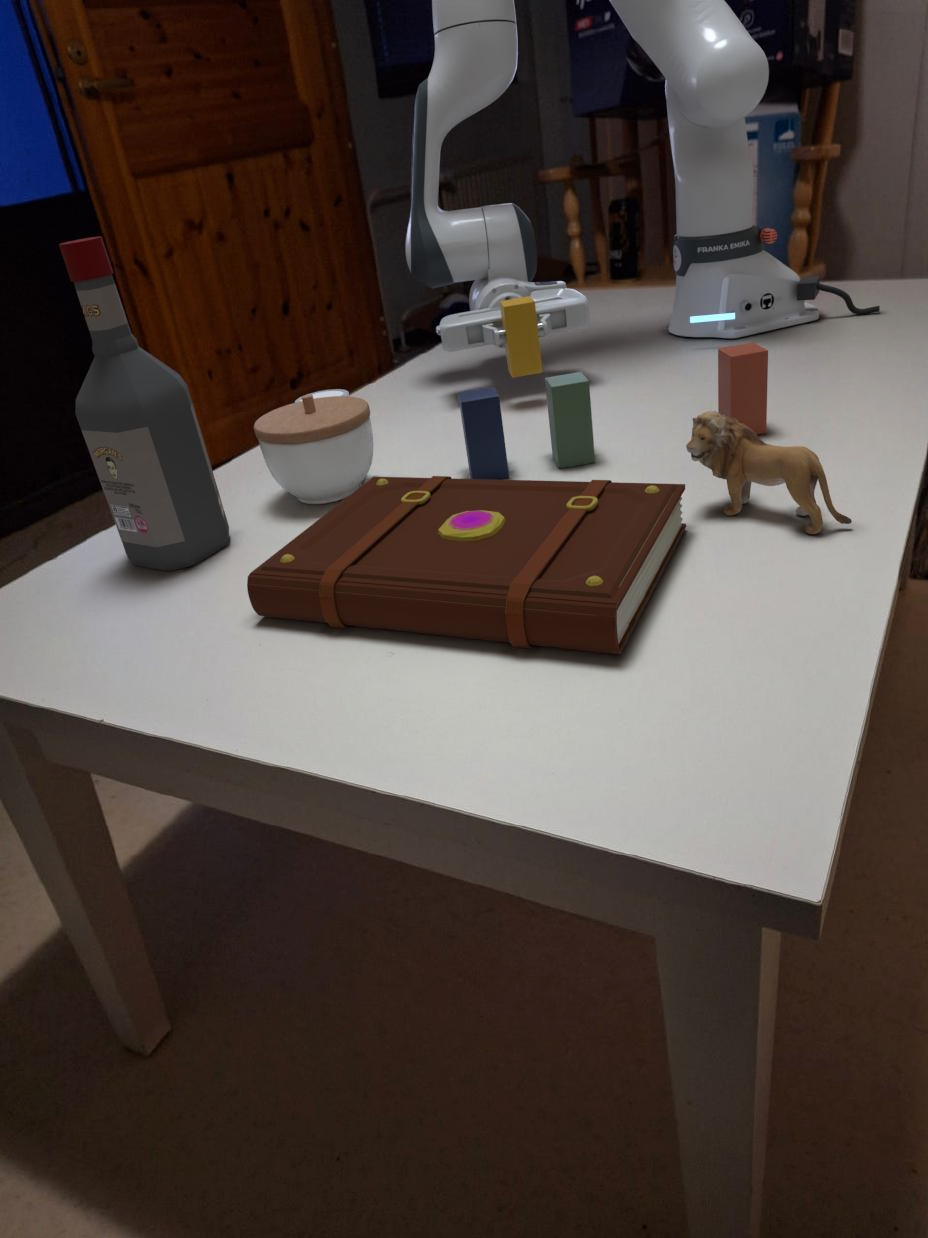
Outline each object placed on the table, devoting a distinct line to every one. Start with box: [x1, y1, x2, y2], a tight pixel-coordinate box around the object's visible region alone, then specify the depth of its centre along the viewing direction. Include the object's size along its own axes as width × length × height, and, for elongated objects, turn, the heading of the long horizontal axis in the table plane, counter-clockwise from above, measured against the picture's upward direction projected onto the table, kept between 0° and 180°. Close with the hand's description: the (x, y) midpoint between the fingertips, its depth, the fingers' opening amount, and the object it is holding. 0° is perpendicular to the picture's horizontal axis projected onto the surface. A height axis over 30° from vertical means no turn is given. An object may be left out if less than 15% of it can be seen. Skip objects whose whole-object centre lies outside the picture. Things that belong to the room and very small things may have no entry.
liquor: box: [58, 236, 230, 572], centre depth 85 cm, size 9×9×30 cm
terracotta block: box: [717, 342, 769, 436], centre depth 97 cm, size 4×4×9 cm
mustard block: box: [500, 296, 543, 379], centre depth 116 cm, size 4×4×9 cm
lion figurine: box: [685, 410, 853, 535], centre depth 78 cm, size 15×5×9 cm, turn 50°
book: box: [246, 475, 687, 655], centre depth 77 cm, size 23×32×5 cm
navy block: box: [457, 386, 510, 480], centre depth 97 cm, size 4×4×9 cm
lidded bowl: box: [253, 394, 375, 505], centre depth 99 cm, size 13×13×11 cm
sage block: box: [544, 371, 596, 469], centre depth 97 cm, size 4×4×9 cm
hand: (521, 334), depth 115 cm, fingers closed on mustard block, 4 cm apart
